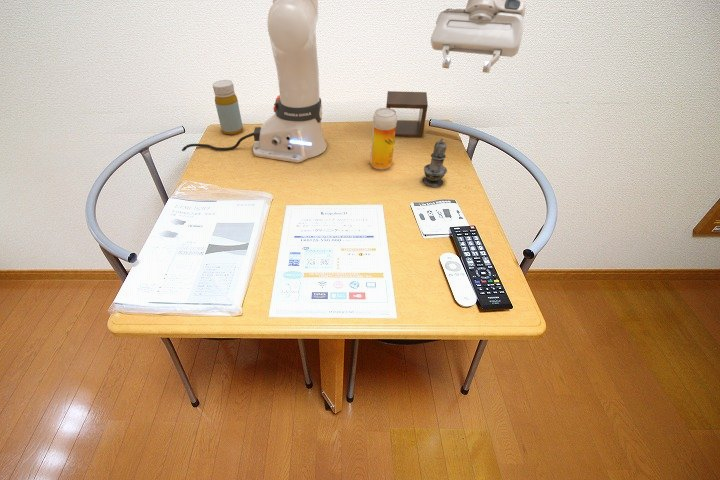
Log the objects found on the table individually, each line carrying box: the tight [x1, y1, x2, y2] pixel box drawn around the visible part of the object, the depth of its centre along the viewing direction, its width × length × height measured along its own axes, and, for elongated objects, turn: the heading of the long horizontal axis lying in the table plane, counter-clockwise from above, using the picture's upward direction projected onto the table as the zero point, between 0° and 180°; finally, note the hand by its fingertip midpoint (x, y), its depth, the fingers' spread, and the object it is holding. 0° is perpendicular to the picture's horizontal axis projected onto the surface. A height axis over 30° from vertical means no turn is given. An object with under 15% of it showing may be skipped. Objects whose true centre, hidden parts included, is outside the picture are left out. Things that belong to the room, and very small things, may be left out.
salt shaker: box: [422, 138, 448, 188], centre depth 92 cm, size 6×6×12 cm
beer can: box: [369, 107, 398, 171], centre depth 98 cm, size 6×6×15 cm
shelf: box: [385, 90, 429, 138], centre depth 114 cm, size 12×10×10 cm
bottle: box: [212, 79, 244, 136], centre depth 116 cm, size 7×7×15 cm
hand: (465, 69), depth 87 cm, fingers open, 8 cm apart
